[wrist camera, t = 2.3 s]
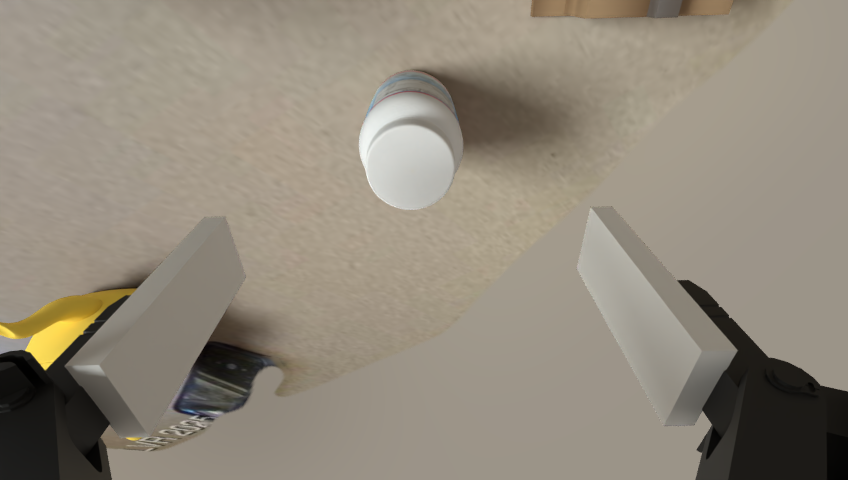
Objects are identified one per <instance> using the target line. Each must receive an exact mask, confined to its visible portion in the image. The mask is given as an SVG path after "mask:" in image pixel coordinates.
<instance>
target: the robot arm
mask: <svg viewBox="0 0 848 480" xmlns="http://www.w3.org/2000/svg"><path fill="white" fill-rule="evenodd" d="M577 270H578V272H579V274H580V276H581V278H582V279H583V281H584V283H585V285H586V287H587V288H588V290H589V292H590V294H591V296H592V297H593V299H594V301H595V303H596V305H597V306H598V308H599V310H600V312H601V314H602V315H603V317H604V319H605V321H606V323H607V325H608V326H609V328H610V330H611V332H612V334H613V335H614V337H615V339H616V341H617V343H618V344H619V346H620V348H621V350H622V352H623V354H624V355H625V357H626V359H627V361H628V362H629V364H630V366H631V368H632V370H633V372H634V373H635V375H636V377H637V379H638V381H639V382H640V384H641V386H642V388H643V389H644V391H645V393H646V395H647V397H648V399H649V401H650V402H651V404H652V406H653V407H654V410H655V411H656V413H657V415H658V417H659V418H660V420H661V422H662V424H663V426H688V425H689V426H691V425H695V423H696V421H697V419H698V418H699V416H700V414H701V412H702V411H703V412H704V413H705V415H706V416H707V418H708V419H709V421H710V422H711V424H712V426H711V428H710V429H709V431H708V433H707V434H706V436H705V437H704V439H703V441H702V442H701V444H700V445H699V447H698V448H697V450H698V451H699V452H702V456H701V460H700V464H699V468H698V473H697V476H696V480H848V392H847V391H842V390H838V389H834V388H829V387H824V386H820V384H819V383H818V382H817V381H816V380H815V379H814V378H813V377H812V376H810V375H809V374H808V373H806V372H805V371H803V370H802V369H800V368H798V367H796V366H794V365H792V364H790V363H788V362H785V361H781V360H778V359H775V358H768V357H767V356H766V354H765V353H764V352H763V351H762V350H761V349H760V348H759V347H758V346H757V345H756V344H755V343H754V342H753V340H752V339H751V338H750V337H749V336H748V335H747V334H746V333H745V332H744V331H743V330H742V329H741V328H740V327H739V326H738V325H737V323H736V322H735V321H734V320H733V319H732V318H729V315H728V314H727V313H726V312H725V311H724V310H723V308H722V307H719V304H718V303H717V302H716V301H715V300H714V299H713V298H712V297H711V296H710V295H709V294H708V293H707V291H705V290H703V289H702V288H700V287H698V286H697V285H696V284H694V283H692V282H691V281H689V280H676V279H675V278H674V277H673V276H672V274H671V273H670V272H669V271H668V270H667V269H666V268H665V266H663V264H662V263H661V262H660V261H659V259H658V258H657V257H656V256H655V255H654V254H653V253H652V252H651V250H650V249H649V248H648V247H647V246H646V245H645V243H644V242H643V241H642V240H641V239H640V238H639V237H638V235H637V234H636V233H635V232H634V231H633V230H632V229H631V227H630V226H629V225H628V224H627V223H626V222H625V221H624V219H623V218H622V217H621V216H620V215H619V214H618V213H617V211H616V210H615V209H614V208H613V207H612V206H611V207H591V208H590V213H589V217H588V221H587V226H586V230H585V235H584V239H583V243H582V248H581V252H580V257H579V261H578V266H577ZM245 278H246V275H245V272H244V269H243V266H242V263H241V261H240V258H239V255H238V252H237V249H236V246H235V243H234V240H233V237H232V234H231V231H230V228H229V225H228V222H227V220H226V217H204V218H203V219H202V220H201V221H200V222H199V223H198V225H197V226H196V227H195V228H194V229H193V230H192V231H191V232H190V233H189V234H188V235H187V236H186V237H185V238H184V239H183V240H182V242H181V243H180V244H179V245H178V246H177V247H176V248H175V249H174V250H173V251H172V252H171V253H170V254H169V255H168V256H167V257H166V259H165V260H164V261H163V262H162V263H161V264H160V265H159V266H158V267H157V268H156V269H155V270H154V271H153V272H152V273H151V275H150V276H149V277H148V278H147V279H146V280H145V281H144V282H143V283H142V284H141V285H140V286H139V287H138V288H137V289H136V290H135V292H134V293H133V294H132V295H125V296H124V297H122V298H120V299H119V300H117V301H116V302H114V303H113V304H111V305H110V306H108V307H107V308H106V309H105V310H104V311H103V312H102V313H101V314H100V315H99V316H98V317H97V318H96V319H95V320H94V323H91V324H90V325H89V326H88V327H87V328H86V329H85V330H84V331H83V335H79V336H78V337H77V338H76V339H75V340H74V342H73V343H72V344H71V345H70V346H69V347H68V348H67V349H66V350H65V351H64V352H63V353H62V354H61V355H60V356H59V357H58V358H57V359H56V360H55V361H54V362H53V363H52V364H51V365H50V366H49V367H48V368H47V369H46V370H44V368H43V367H42V366H41V365H40V364H39V362H38V361H37V360H36V359H35V358H34V356H33V355H32V354H31V353H30V352H27V351H23V350H19V351H9V352H6V353H3V354H0V480H112V478H111V472H110V467H109V461H108V455H107V449H106V445H105V444H104V442H103V440H102V439H101V438H100V437H101V435H102V434H103V433H104V431H105V430H106V428H107V427H108V426H109V424H110V425H111V427H112V428H113V429H114V431H115V432H116V433H117V434H118V436H119V437H120V438H135V437H150V436H151V434H152V433H153V431H154V429H155V428H156V426H157V424H158V423H159V421H160V419H161V418H162V416H163V414H164V413H165V411H166V409H167V408H168V406H169V404H170V403H171V401H172V399H173V398H174V396H175V394H176V393H177V391H178V389H179V388H180V386H181V384H182V383H183V381H184V379H185V378H186V376H187V374H188V373H189V371H190V369H191V368H192V366H193V364H194V363H195V361H196V360H197V358H198V356H199V355H200V353H201V351H202V350H203V348H204V346H205V345H206V343H207V341H208V340H209V338H210V336H211V335H212V333H213V331H214V330H215V328H216V326H217V325H218V323H219V321H220V320H221V318H222V316H223V315H224V313H225V311H226V310H227V308H228V306H229V305H230V303H231V301H232V300H233V298H234V296H235V295H236V293H237V291H238V290H239V288H240V286H241V285H242V283H243V282H244V280H245Z"/></svg>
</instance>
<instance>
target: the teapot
mask: <svg viewBox="0 0 848 480" xmlns="http://www.w3.org/2000/svg"><path fill="white" fill-rule="evenodd" d="M136 289H137V288H130V289H116V290H107V291H100V292H94V293H89V294H86V295H82V296H69V297H64V298H60V299H58V300H55V301H53V302H51V303H49V304H47V305H46V306H44V307H42V308H41V309H40V310H38V311H37V312H35V313H34V314H33V315H31V316H30V317H28V318H26V319H24V320H22V321H19V322H15V323H1V322H0V335H2V336H5V337H8V338H13V339H21V338H26V337H30V336H32V335H33V337H32V339H31V341H30V342H29V344H28V346H27V348H26V350H25V351H27V352H30V353H31V354H32V355H33V356H34V358H35V359H36V360H37V361H38V362H39V364H40V365H41V366H42V367H43V368H44V370H46V369H47V368H48V367H49V366H50V365H51V364H52V363H53V362H54V361H55V360H56V359H57V358H58V357H59V356H60V355H61V354H62V353H63V352H64V351H65V350H66V349H67V348H68V347H69V346H70V345H71V344H72V343H73V342H74V340H75V339H76V338H77V337H78V336H79V335H83V331H84V330H85V329H86V328H87V327H88V326H89V325H90V324H91V323H94V320H95V319H96V318H97V317H98V316H99V315H100V314H101V313H102V312H103V311H104V310H105V309H106V308H107V307H108V306H110V305H111V304H113V303H114V302H116V301H117V300H119V299H120V298H122V297H124V296H125V295H132V294H133V293H134V292H135V290H136ZM141 438H142V437H135V438H127V439H129V440H139V439H141Z"/></svg>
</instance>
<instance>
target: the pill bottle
mask: <svg viewBox="0 0 848 480" xmlns="http://www.w3.org/2000/svg"><path fill="white" fill-rule="evenodd" d="M359 151H360V156H361V160H362V163H363V165H364V167H365V169H366V175H367V179H368V182H369V184H370V186H371V188H372V190H373V191H374V192H375V194H376V195H377V196H378V197H379V198H380V199H381V200H383V201H384V202H386V203H387V204H389V205H391V206H393V207H396V208H400V209H405V210H416V209H422V208H425V207H428V206H430V205H432V204H434V203H436V202H437V201H439V200H440V199H441V198H442V197H443V196H444V195H445V194H446V193H447V191H448V190H449V188H450V186H451V184H452V182H453V179H454V175H455V173H456V172H457V170H458V168H459V165H460V163H461V160H462V156H463V137H462V132H461V128H460V125H459V121H458V118H457V114H456V110H455V107H454V104H453V101H452V98H451V96H450V94H449V92H448V90H447V89H446V87H445V86H444V85H443V84H442V83H441V82H440V81H439V80H437V79H436V78H434V77H433V76H431V75H429V74H427V73H424V72H420V71H415V70H407V71H401V72H398V73H396V74H394V75H392V76H390V77H389V78H387V79H386V80H385V81H384V82H383V83H382V84H381V85H380V86H379V88H378V89H377V91H376V93H375V95H374V97H373V100H372V102H371V104H370V107H369V110H368V112H367V115H366V117H365V120H364V122H363V125H362V128H361V132H360V137H359Z"/></svg>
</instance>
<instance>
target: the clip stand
mask: <svg viewBox="0 0 848 480" xmlns="http://www.w3.org/2000/svg"><path fill="white" fill-rule="evenodd" d="M733 1H734V0H532V7H531V16H532V17H537V16H576V17H581V18H617V17H653V18H669V17H678V16H685V15H718V14H729V12H730V9H731V6H732V4H733Z"/></svg>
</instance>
